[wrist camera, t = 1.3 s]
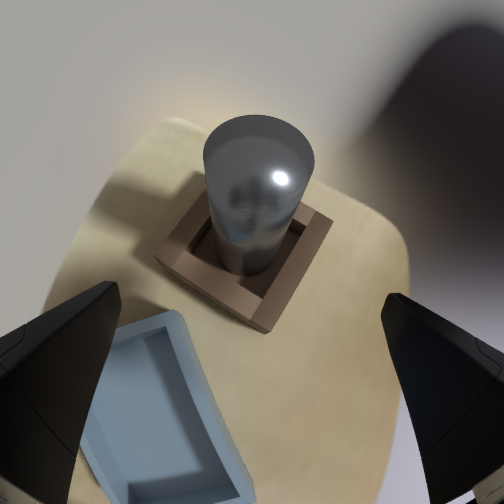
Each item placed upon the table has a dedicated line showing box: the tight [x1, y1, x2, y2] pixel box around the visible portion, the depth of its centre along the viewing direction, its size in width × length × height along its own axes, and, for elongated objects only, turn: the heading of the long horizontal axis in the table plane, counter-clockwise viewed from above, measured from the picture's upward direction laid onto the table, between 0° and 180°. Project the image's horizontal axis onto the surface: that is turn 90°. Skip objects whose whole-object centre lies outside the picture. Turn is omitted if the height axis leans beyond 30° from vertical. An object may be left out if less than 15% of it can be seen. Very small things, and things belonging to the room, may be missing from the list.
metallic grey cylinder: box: [203, 115, 314, 277], centre depth 16 cm, size 4×4×11 cm
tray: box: [80, 309, 257, 504], centre depth 16 cm, size 14×10×4 cm
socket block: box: [154, 188, 334, 334], centre depth 21 cm, size 9×9×3 cm
